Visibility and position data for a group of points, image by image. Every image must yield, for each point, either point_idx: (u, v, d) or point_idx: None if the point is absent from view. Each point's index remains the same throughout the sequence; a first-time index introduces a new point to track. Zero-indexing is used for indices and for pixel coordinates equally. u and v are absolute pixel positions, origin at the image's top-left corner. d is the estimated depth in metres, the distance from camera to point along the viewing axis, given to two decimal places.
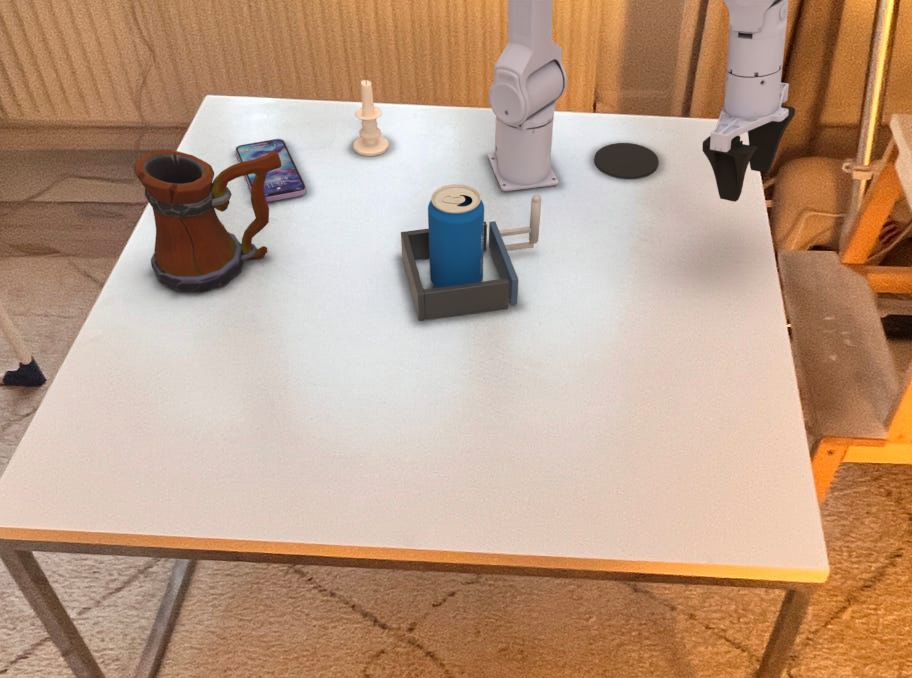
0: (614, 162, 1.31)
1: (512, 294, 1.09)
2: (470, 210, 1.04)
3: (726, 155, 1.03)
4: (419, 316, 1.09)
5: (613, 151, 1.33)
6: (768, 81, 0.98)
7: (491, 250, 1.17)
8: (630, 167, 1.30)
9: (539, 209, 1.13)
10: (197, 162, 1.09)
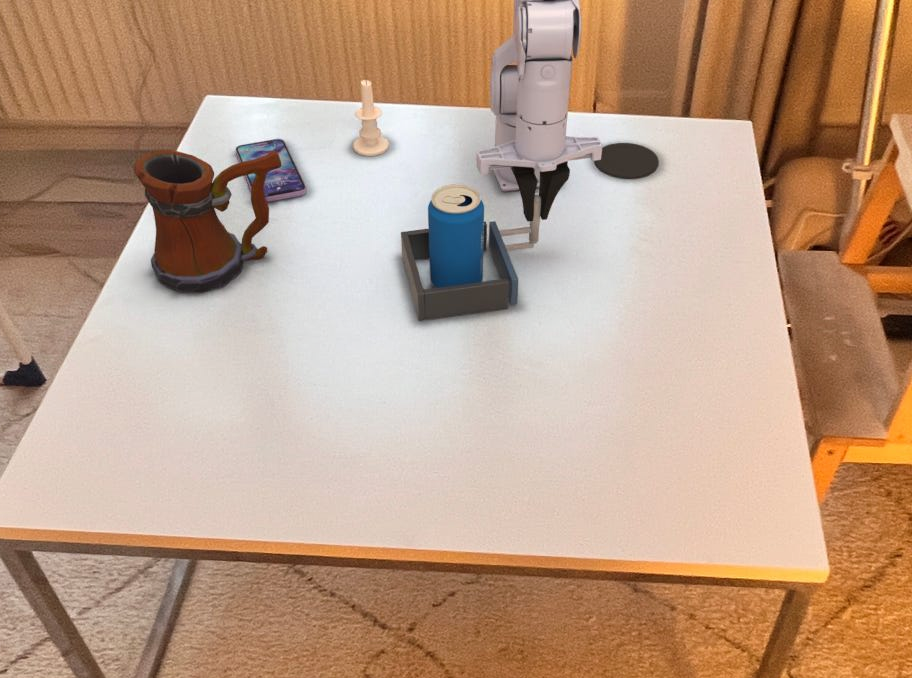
0: (614, 162, 1.31)
1: (512, 294, 1.09)
2: (470, 210, 1.04)
3: None
4: (419, 316, 1.09)
5: (613, 151, 1.33)
6: (534, 129, 1.03)
7: (491, 250, 1.17)
8: (630, 167, 1.30)
9: (539, 209, 1.13)
10: (197, 162, 1.09)
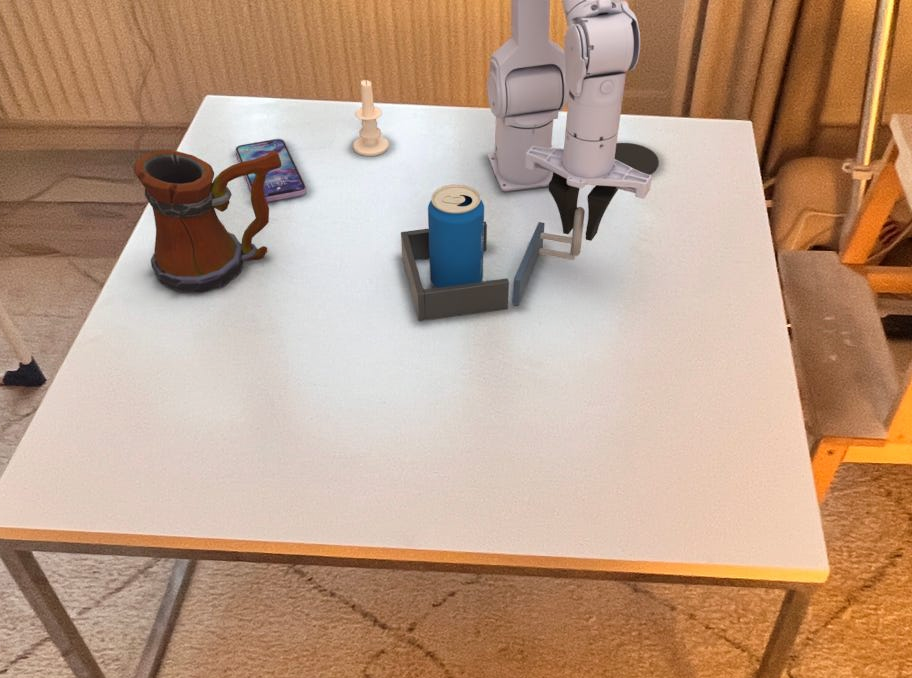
0: None
1: (514, 293, 1.09)
2: (470, 210, 1.04)
3: None
4: (419, 316, 1.09)
5: None
6: (570, 140, 1.01)
7: None
8: None
9: (580, 222, 1.11)
10: (197, 162, 1.09)
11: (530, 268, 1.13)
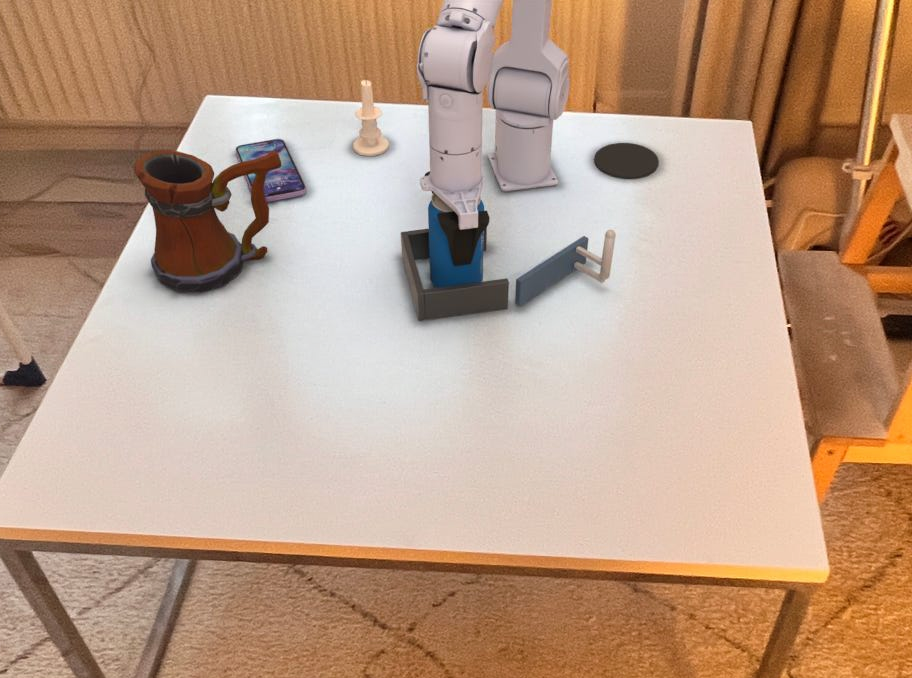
0: (614, 162, 1.31)
1: (516, 293, 1.09)
2: None
3: None
4: (419, 316, 1.09)
5: (613, 151, 1.33)
6: None
7: None
8: (630, 167, 1.30)
9: (609, 246, 1.07)
10: (197, 162, 1.09)
11: (550, 276, 1.11)
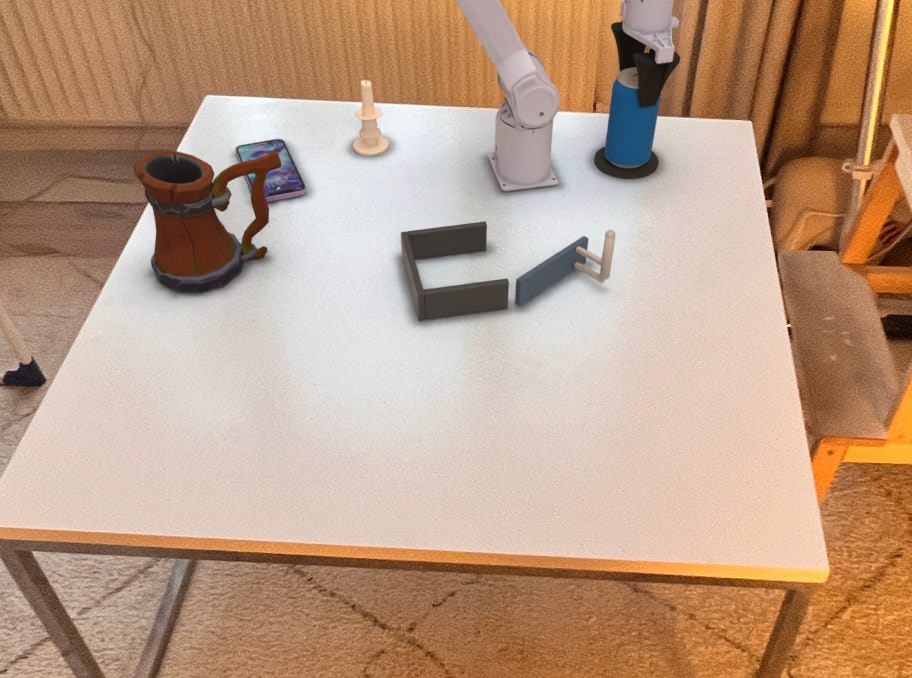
0: None
1: (516, 293, 1.09)
2: None
3: (651, 67, 1.17)
4: (419, 316, 1.09)
5: None
6: None
7: None
8: None
9: (609, 246, 1.07)
10: (197, 162, 1.09)
11: (550, 276, 1.11)
